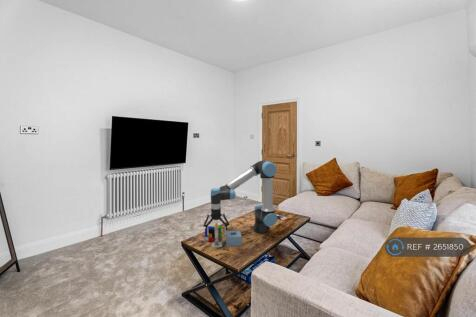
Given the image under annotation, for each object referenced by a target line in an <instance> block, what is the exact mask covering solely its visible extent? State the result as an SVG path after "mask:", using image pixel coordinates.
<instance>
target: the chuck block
mask: <svg viewBox="0 0 476 317" xmlns="http://www.w3.org/2000/svg"><path fill="white" fill-rule="evenodd" d="M242 238H243V237H242V232H241V229H239V230H226V235H225V238H221V242H222V243H225V245H226V247H242V246H243V243H242V242H243V240H242Z"/></svg>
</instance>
